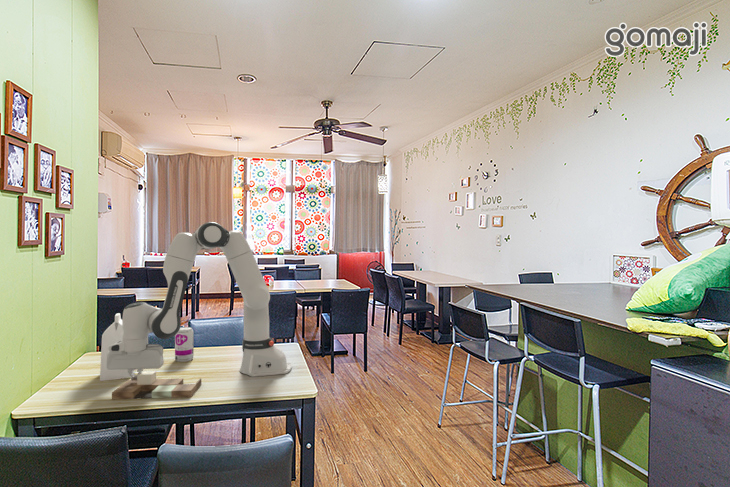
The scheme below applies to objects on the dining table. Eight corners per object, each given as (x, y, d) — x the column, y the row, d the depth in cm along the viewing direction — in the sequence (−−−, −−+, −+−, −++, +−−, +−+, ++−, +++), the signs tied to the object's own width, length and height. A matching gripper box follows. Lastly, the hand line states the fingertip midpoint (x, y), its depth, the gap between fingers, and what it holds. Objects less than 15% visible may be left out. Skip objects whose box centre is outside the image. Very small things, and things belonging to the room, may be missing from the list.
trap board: (201, 384, 169) (201, 378, 169) (191, 397, 156) (191, 390, 156) (128, 386, 166) (128, 379, 166) (111, 399, 153) (111, 392, 153)
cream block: (156, 380, 166) (156, 371, 166) (150, 384, 161) (150, 375, 161) (143, 380, 166) (143, 371, 166) (137, 384, 161) (137, 375, 161)
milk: (104, 372, 183) (104, 312, 183) (134, 368, 188) (134, 311, 187) (99, 381, 172) (99, 318, 172) (131, 377, 177) (131, 315, 176)
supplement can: (187, 362, 197) (187, 330, 197) (171, 361, 198) (171, 330, 198) (196, 357, 205) (196, 327, 205) (181, 356, 207) (181, 326, 206)
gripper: (166, 342, 167) (166, 376, 167) (112, 342, 165) (112, 377, 165) (159, 346, 161) (160, 382, 161) (103, 347, 159) (104, 383, 159)
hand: (135, 379), depth 163 cm, fingers closed
